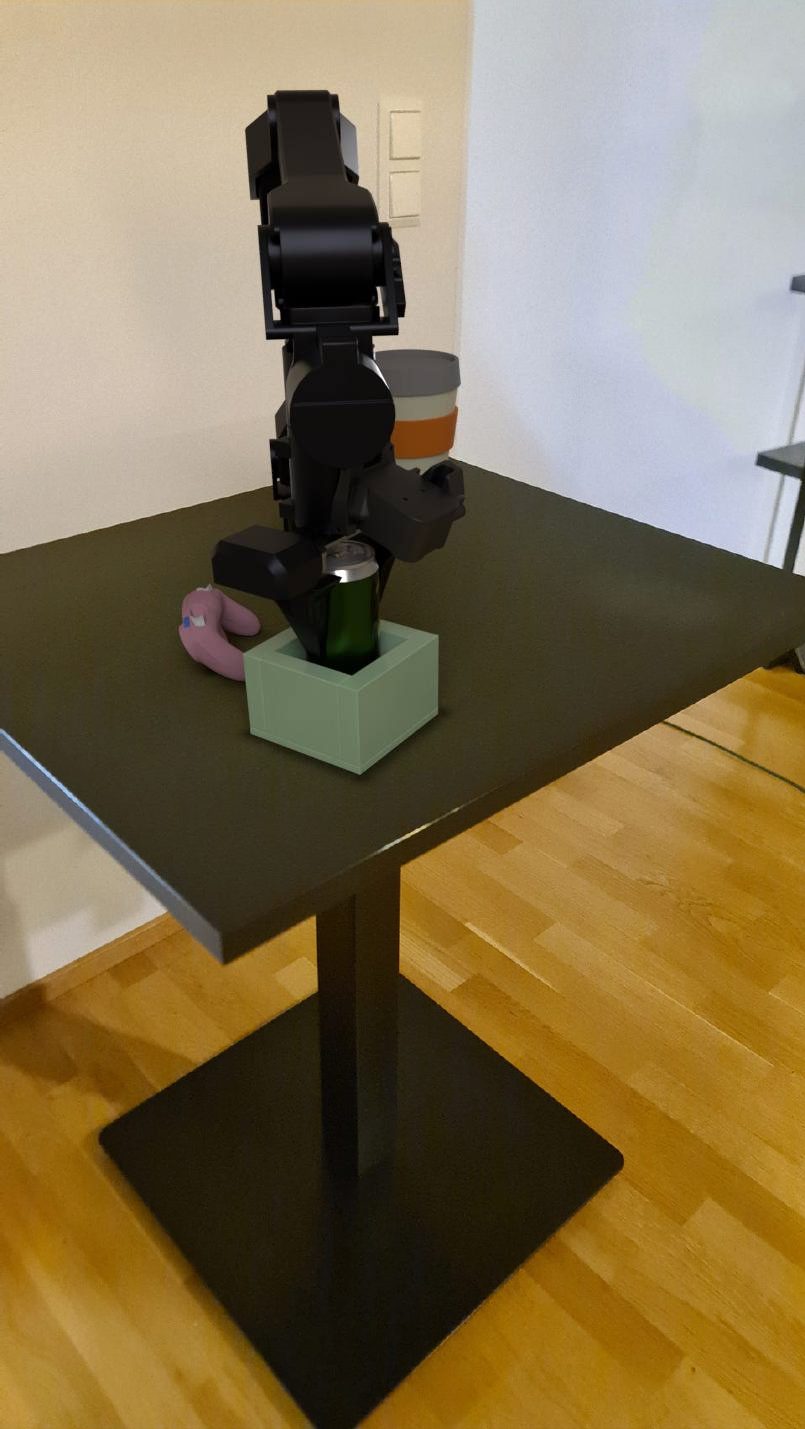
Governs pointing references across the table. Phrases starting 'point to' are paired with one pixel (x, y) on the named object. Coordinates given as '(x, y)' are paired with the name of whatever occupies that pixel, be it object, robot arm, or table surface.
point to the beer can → (352, 609)
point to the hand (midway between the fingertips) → (341, 643)
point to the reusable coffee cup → (421, 404)
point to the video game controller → (215, 630)
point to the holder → (343, 697)
